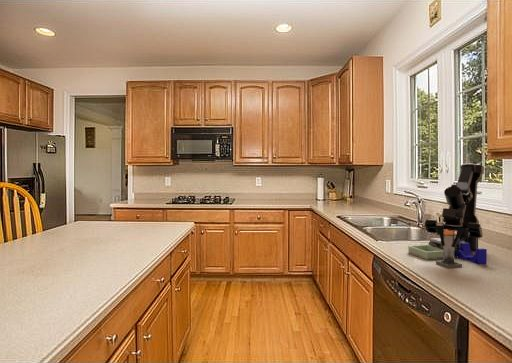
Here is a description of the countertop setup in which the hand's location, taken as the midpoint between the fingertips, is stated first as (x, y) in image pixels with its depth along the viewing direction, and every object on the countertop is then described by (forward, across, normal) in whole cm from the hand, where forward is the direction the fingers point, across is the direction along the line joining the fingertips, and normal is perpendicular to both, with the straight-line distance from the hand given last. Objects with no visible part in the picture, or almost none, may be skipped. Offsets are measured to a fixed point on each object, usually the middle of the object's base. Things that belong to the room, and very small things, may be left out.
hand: (447, 246), depth 126 cm
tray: (-3, -11, +14) cm, 18 cm away
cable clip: (-5, +4, +16) cm, 18 cm away
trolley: (-9, -6, +20) cm, 23 cm away
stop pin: (+4, 0, +6) cm, 7 cm away
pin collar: (+4, 0, +6) cm, 8 cm away
